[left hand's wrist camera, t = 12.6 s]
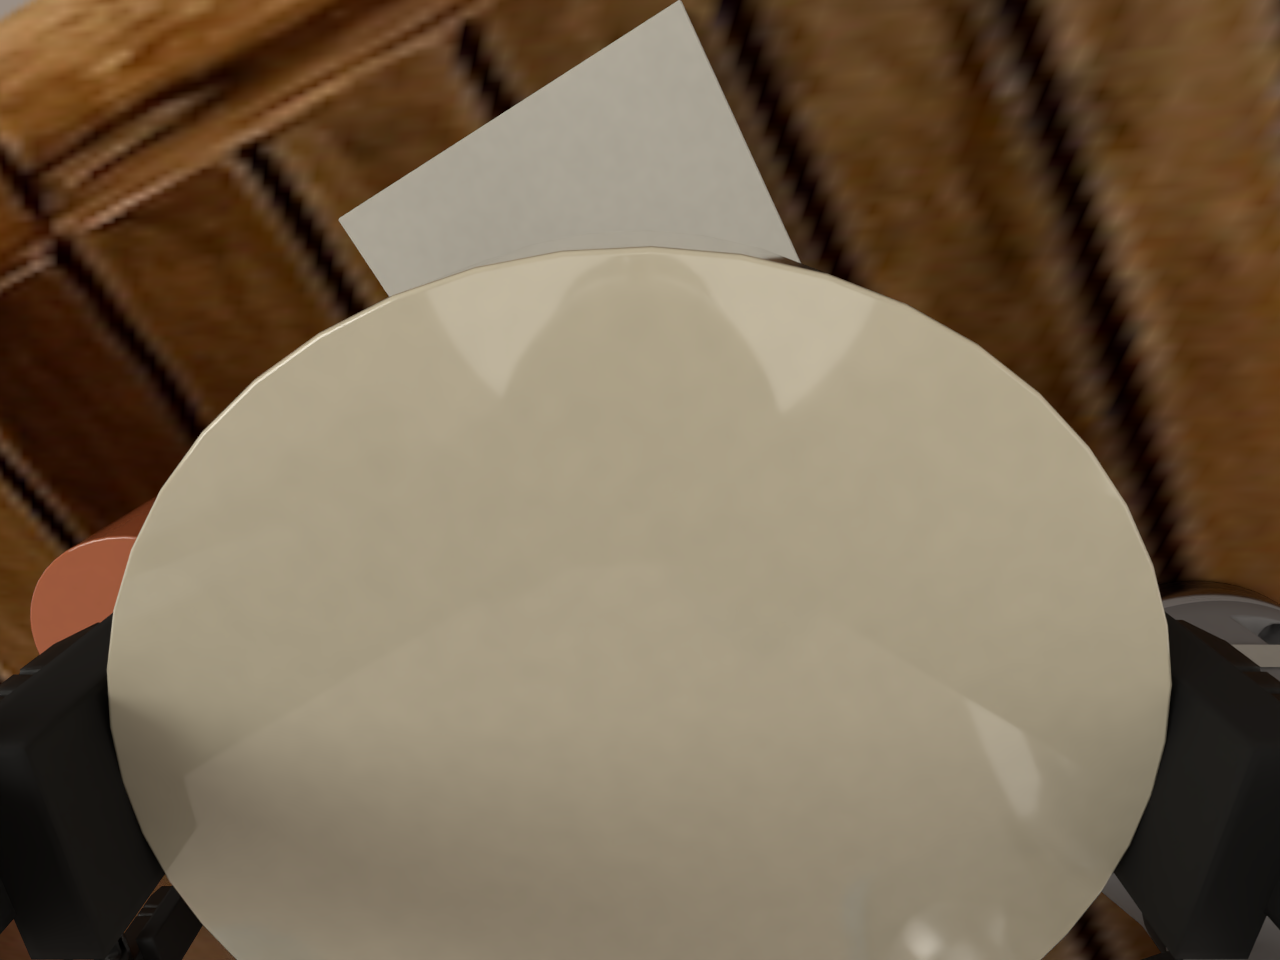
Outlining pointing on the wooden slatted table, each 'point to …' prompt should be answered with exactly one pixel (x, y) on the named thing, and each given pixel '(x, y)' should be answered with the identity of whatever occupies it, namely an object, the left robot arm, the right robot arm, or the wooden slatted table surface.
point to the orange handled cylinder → (84, 581)
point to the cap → (639, 630)
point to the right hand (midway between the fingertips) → (328, 838)
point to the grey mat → (581, 167)
